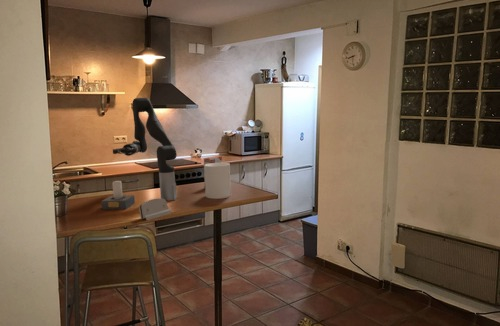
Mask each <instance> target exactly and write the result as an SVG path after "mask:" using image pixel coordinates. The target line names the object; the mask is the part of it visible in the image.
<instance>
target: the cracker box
mask: <svg viewBox="0 0 500 326" xmlns="http://www.w3.org/2000/svg"><path fill="white" fill-rule="evenodd" d="M209 163H223V156H221V155H212V156H209V157H203V166H204V165H205V164H209ZM203 176H204V177H203V179H204V181H203V182H205V168H204V167H203Z"/></svg>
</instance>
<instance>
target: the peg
mask: <svg viewBox="0 0 500 326" xmlns="http://www.w3.org/2000/svg"><path fill="white" fill-rule="evenodd" d="M111 183H112V194H113V195H114V199H123V195H124V194H123V184H122V181H121V180H115V181H112V182H111Z"/></svg>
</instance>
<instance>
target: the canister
mask: <svg viewBox="0 0 500 326" xmlns="http://www.w3.org/2000/svg"><path fill="white" fill-rule="evenodd" d="M204 168H205V181H204V188H205V198H207V199H213V200H217V199H218V200H219V199H225V198H226V199H227V198H230V197H232V185H231V183H232V181H231V179H232V178H231V164H230V162H222V163H209V164H205V165H204V164H203V169H204Z"/></svg>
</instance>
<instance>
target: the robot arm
mask: <svg viewBox="0 0 500 326" xmlns="http://www.w3.org/2000/svg"><path fill="white" fill-rule="evenodd" d="M140 113H147V115H148V116H147V120H146V121H145V124H144V122H143V121H142V120H141V117H140ZM132 114H133V115H132V116H133V123H134V131H133V133H134V135H133V136H134V137H133V138H134V139H135V140H133V141H132V143H126V144H125V145H123V146H122V147H121V148H115V149H112V155H116V154H119V155H122V154H123V155H124V156H127V157H130V156H133V155H135V154H138V153H143V154H144V153H145V152H146V151H147V149H148V144H147V140H146V130H147V131H148V133H149V136H150V137H151V138H153V139H154V140H155V141H157V142H159V143H160V144H161V145H159V146H158V147H157V148H156V160H157V168H158V176H159V177H158V178H159V189H160V190H159V191H160V199H165V200H166V202H167V201H169V202H170V201H175V200H176V199H177V198H178V194H177V193H178V192H177V190H178V189H177V183H176V177H175V167H174V166H172V165H168V164H167V161H169V162H170V161H174V160H175V159H176V158H177V157H178V156H177V149H176V148H175V146H174V144H173V143H172V141H171V140H170V139H169V137H168V135H167V133H166V132H165V129H164V127H163V125H162V123H161V122H160V120H159V118H158V115H157V114H156V112H155V109H154V106H153V105H152V102H151V100H150V99H149V97H137V98H135V97H134V98H133V100H132Z"/></svg>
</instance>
